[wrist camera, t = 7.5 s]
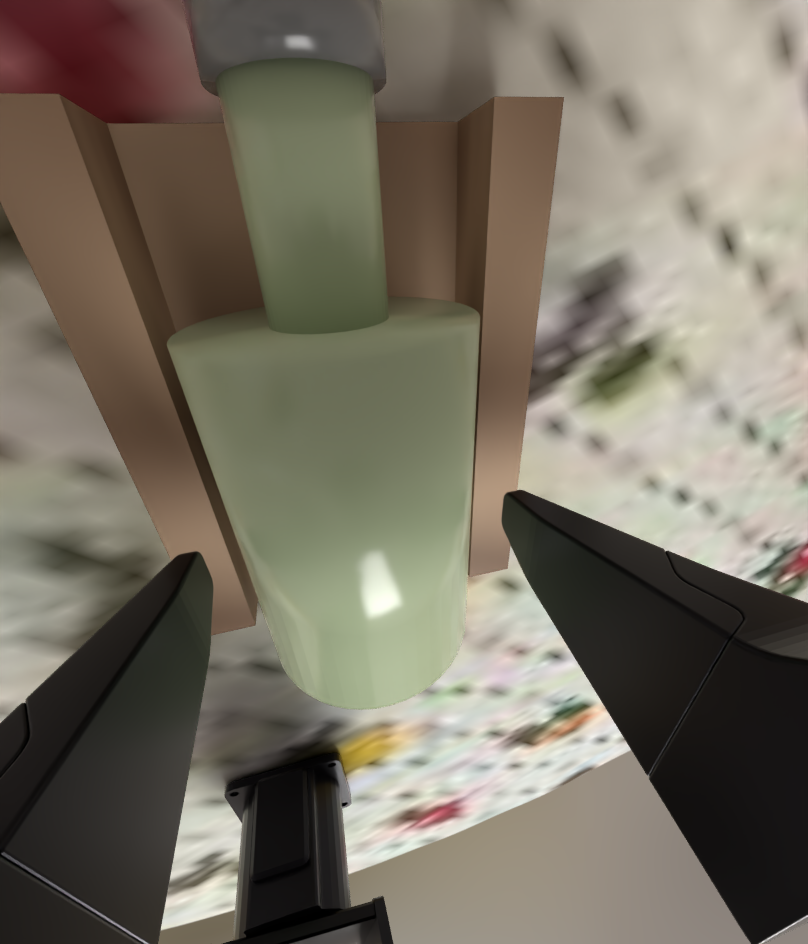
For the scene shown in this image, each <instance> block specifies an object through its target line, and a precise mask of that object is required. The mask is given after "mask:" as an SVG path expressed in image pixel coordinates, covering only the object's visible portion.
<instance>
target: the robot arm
mask: <svg viewBox="0 0 808 944" xmlns="http://www.w3.org/2000/svg"><path fill="white" fill-rule="evenodd" d="M501 522H502V527H503V530H504V532H505V534H506V536H507V538H508V540H509V543H510V545H511V547H512V549H513V551H514V553H515V555H516V558H517V560H518V562H519V564H520V566H521V568H522V570H523V572H524V574H525V576H526V578H527V580H528V582H529V584H530V586H531V587H532V589H533V591H534V592H535V594H536V596H537V597H538V599H539V600H540V602H541V604H542V605H543V607H544V609H545V610H546V612H547V613H548V615H549V617H550V618H551V620H552V622H553V623H554V625H555V626H556V628H557V630H558V631H559V633H560V635H561V636H562V638H563V639H564V641H565V643H566V644H567V646H568V648H569V649H570V651H571V652H572V654H573V656H574V657H575V659H576V661H577V662H578V664H579V665H580V667H581V669H582V670H583V672H584V674H585V675H586V677H587V678H588V680H589V682H590V683H591V685H592V687H593V688H594V690H595V692H596V693H597V695H598V696H599V698H600V700H601V701H602V703H603V705H604V706H605V708H606V709H607V711H608V713H609V714H610V716H611V718H612V719H613V721H614V722H615V724H616V726H617V727H618V729H619V731H620V732H621V734H622V735H623V737H624V739H625V740H626V742H627V744H628V745H629V747H630V748H631V750H632V752H633V753H634V755H635V757H636V758H637V760H638V761H639V763H640V765H641V766H642V768H643V769H644V771H645V773H646V774H647V775H648V776H649V780H650V782H651V783H652V785H653V786H654V788H655V790H656V791H657V793H658V794H659V796H660V798H661V799H662V801H663V803H664V804H665V806H666V808H667V809H668V811H669V812H670V814H671V816H672V817H673V819H674V821H675V822H676V824H677V825H678V827H679V829H680V830H681V832H682V834H683V835H684V837H685V838H686V840H687V842H688V843H689V845H690V847H691V848H692V850H693V851H694V853H695V855H696V856H697V858H698V859H699V861H700V863H701V864H702V866H703V868H704V869H705V871H706V873H707V874H708V876H709V877H710V879H711V881H712V882H713V884H714V885H715V887H716V889H717V890H718V892H719V894H720V895H721V897H722V899H723V900H724V902H725V903H726V905H727V907H728V908H729V910H730V911H731V913H732V915H733V916H734V918H735V920H736V921H737V923H738V925H739V926H740V928H741V929H742V931H743V932H744V934H745V936H746V937H747V938H748V940H749V941H750V942H751V944H764V943H766V942H768V941H770V940H772V939H775V938H776V937H778V936H781V935H783V934H785V933H787V932H789V931H791V930H794V929H796V928H798V927H800V926H802V925H804V924H806V923H808V603H806V602H804V601H801V600H798V599H795V598H792V597H789V596H787V595H784V594H781V593H778V592H775V591H772V590H770V589H767V588H764V587H761V586H758V585H756V584H753V583H750V582H747V581H744V580H742V579H739V578H736V577H733V576H731V575H728V574H725V573H722V572H720V571H717V570H714V569H712V568H709V567H707V566H704V565H702V564H699V563H697V562H694V561H692V560H689V559H687V558H684V557H682V556H680V555H677V554H675V553H672V552H670V551H665V550H664V549H663V548H660V547H658V546H655V545H653V544H651V543H648V542H646V541H643V540H641V539H639V538H636V537H634V536H631V535H629V534H627V533H624V532H622V531H619V530H617V529H615V528H612V527H610V526H607V525H605V524H603V523H600V522H598V521H595V520H593V519H591V518H588V517H586V516H583V515H581V514H579V513H576V512H574V511H571V510H569V509H567V508H564V507H562V506H559V505H557V504H555V503H552V502H550V501H547V500H545V499H543V498H540V497H538V496H535V495H533V494H531V493H528V492H526V491H523V490H516V491H511V492H507V493H506V494H505V495H504V498H503V507H502V518H501ZM212 608H213V580H212V577H211V575H210V572H209V570H208V568H207V565H206V563H205V560H204V558H203V556H202V554H201V553H200V552H198V551H194V552H188V553H183V554H179V555H177V556H176V557H175V558H174V559H173V560H172V561H170V562H169V563H168V564H167V565H166V566H165V567H164V568H163V569H162V570H161V571H160V572H159V573H158V574H157V575H156V576H155V577H154V578H153V579H152V580H150V581H149V582H148V583H147V584H146V585H145V586H144V587H143V588H142V589H141V590H140V591H139V592H138V593H137V594H136V595H135V596H134V597H133V598H132V599H131V600H129V601H128V602H127V603H126V604H125V605H124V606H123V607H122V608H121V609H120V610H119V611H118V612H117V613H116V614H115V615H114V616H113V617H112V618H111V619H109V620H108V621H107V622H106V623H105V624H104V625H103V626H102V627H101V628H100V629H99V630H98V631H97V632H96V633H95V634H94V635H93V636H92V637H91V638H90V639H88V640H87V641H86V642H85V643H84V644H83V645H82V646H81V647H80V648H79V649H78V650H77V651H76V652H75V653H74V654H73V655H72V656H71V657H70V658H68V659H67V660H66V661H65V662H64V663H63V664H62V665H61V666H60V667H59V668H58V669H57V670H56V671H55V672H54V673H53V674H52V675H51V676H50V677H48V678H47V679H46V680H45V681H44V682H43V683H42V684H41V685H40V686H39V687H38V688H37V689H36V690H35V691H34V692H33V693H32V694H31V695H30V696H28V697H27V699H26V703H21V704H20V705H19V706H18V707H17V708H16V709H15V710H14V711H13V712H11V713H10V714H9V715H8V716H7V717H6V718H5V719H4V720H3V721H2V722H1V723H0V944H158V941H159V935H160V930H161V924H162V919H163V913H164V908H165V902H166V897H167V891H168V885H169V880H170V874H171V869H172V863H173V858H174V852H175V847H176V841H177V835H178V830H179V824H180V819H181V813H182V808H183V802H184V797H185V791H186V785H187V780H188V774H189V769H190V763H191V758H192V752H193V747H194V741H195V735H196V730H197V724H198V719H199V713H200V708H201V702H202V697H203V691H204V685H205V680H206V674H207V669H208V662H209V656H210V644H211V626H212ZM225 798H226V799H227V801H228V803H229V804H230V806H231V807H232V809H233V810H234V812H235V813H236V815H237V816H238V818H239V819H240V821H241V822H242V833H241V846H240V858H239V870H238V882H237V895H236V907H235V919H234V931H233V941H230V942H226V943H223V944H393V940H392V935H391V931H390V926H389V921H388V916H387V912H386V906H385V901H384V897H383V896H381V897H377V898H373V899H372V902H368V903H365V904H361V905H358V906H354V907H351V901H350V890H349V879H348V868H347V857H346V846H345V835H344V824H343V813H342V808H345V807H347V806H349V805H350V804H351V794H350V790H349V787H348V783H347V779H346V776H345V772H344V768H343V765H342V761H341V757H340V755H339V754H338V753H331V754H327V755H324V756H320V757H317V758H313V759H310V760H307V761H303V762H300V763H296V764H293V765H289V766H286V767H283V768H279V769H276V770H272V771H269V772H265V773H262V774H259V775H255V776H252V777H248V778H245V779H241V780H238V781H235V782H231V783H229V784H228V785H227V786H226V788H225Z"/></svg>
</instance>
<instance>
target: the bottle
mask: <svg viewBox="0 0 808 944" xmlns="http://www.w3.org/2000/svg"><path fill="white" fill-rule="evenodd" d="M182 3H183V8H184V12H185V16H186V20H187V25H188V29H189V33H190V38H191V42H192V46H193V50H194V55H195V59H196V63H197V67H198V72H199V76H200V80H201V83H202V86H203V87H204V88H205V89H206V90H207V91H208V92H210V93H212V94H213V95H215V96H218V97H219V101H220V106H221V110H222V115H223V119H224V124H225V128H226V133H227V137H228V142H229V147H230V151H231V156H232V160H233V165H234V169H235V174H236V178H237V183H238V187H239V192H240V197H241V201H242V206H243V210H244V215H245V219H246V224H247V228H248V233H249V237H250V242H251V247H252V251H253V256H254V260H255V265H256V269H257V274H258V278H259V283H260V287H261V292H262V297H263V301H264V306H265V307H259V308H254V309H248V310H243V311H239V312H234V313H230V314H226V315H222V316H218V317H214V318H211V319H207V320H204V321H201V322H198V323H196V324H193V325H191V326H188V327H186V328H184V329H182V330H180V331H178V332H176V333H175V334H174V335H172V336H171V337H170V338H169V340H168V341H167V347H168V350H169V353H170V356H171V359H172V361H173V364H174V367H175V370H176V372H177V375H178V378H179V381H180V384H181V386H182V389H183V392H184V395H185V398H186V400H187V403H188V406H189V409H190V411H191V414H192V417H193V420H194V423H195V425H196V428H197V431H198V434H199V437H200V439H201V442H202V445H203V448H204V450H205V453H206V456H207V459H208V462H209V464H210V467H211V470H212V473H213V476H214V478H215V481H216V484H217V487H218V489H219V492H220V495H221V498H222V501H223V503H224V506H225V509H226V512H227V515H228V517H229V520H230V523H231V526H232V528H233V531H234V534H235V537H236V540H237V542H238V545H239V548H240V551H241V554H242V556H243V559H244V562H245V565H246V567H247V570H248V573H249V576H250V579H251V581H252V584H253V587H254V590H255V593H256V595H257V598H258V601H259V604H260V606H261V609H262V612H263V615H264V618H265V620H266V623H267V626H268V629H269V632H270V634H271V637H272V640H273V643H274V645H275V648H276V651H277V654H278V657H279V659H280V662H281V664H282V666H283V669H284V670H285V672H286V673H287V675H288V676H289V678H290V679H291V680H292V681H293V682H294V683H295V685H296V686H297V687H298V688H300V689H301V690H302V691H303V692H305V693H306V694H307V695H309V696H311V697H313V698H314V699H316V700H318V701H320V702H323V703H326V704H329V705H331V706H335V707H340V708H345V709H359V710H363V709H376V708H381V707H386V706H391V705H394V704H397V703H399V702H402V701H405V700H407V699H409V698H411V697H413V696H415V695H417V694H419V693H421V692H422V691H424V690H425V689H426V688H428V687H429V686H431V685H432V684H433V683H434V682H435V681H436V680H438V679H439V678H440V677H441V676H442V675H443V674H444V672H445V671H446V670H447V669H448V668H449V666H450V665H451V663H452V662H453V660H454V659H455V657H456V655H457V653H458V651H459V649H460V646H461V644H462V640H463V636H464V632H465V623H466V602H467V582H468V561H469V540H470V519H471V499H472V478H473V457H474V436H475V416H476V395H477V374H478V353H479V333H480V315H479V313H478V312H477V311H476V310H475V309H473V308H471V307H469V306H466V305H463V304H460V303H456V302H452V301H446V300H439V299H431V298H420V297H396V296H388V295H387V280H386V265H385V250H384V235H383V220H382V205H381V190H380V175H379V160H378V145H377V131H376V116H375V101H374V94H376V93H378V92H379V91H380V90H381V89H382V88H383V87H384V86H385V84H386V71H385V52H384V34H383V15H382V2H381V0H182Z"/></svg>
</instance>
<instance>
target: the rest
mask: <svg viewBox="0 0 808 944" xmlns="http://www.w3.org/2000/svg"><path fill="white" fill-rule="evenodd" d="M563 101H564V97H493V98H492V99H491V100H489V101H488V102H486V103H485V104H483V105H482V106H480V107H479V108H477V109H476V110H475V111H473V112H472V113H470V114H469V115H467V116H466V117H464V118H463V119H461V120H460V121H458V122H376V131H377V145H378V160H379V175H380V190H381V205H382V220H383V235H384V250H385V265H386V280H387V295H388V296H396V297H420V298H431V299H439V300H446V301H452V302H456V303H460V304H463V305H466V306H469V307H471V308H473V309H475V310H476V311H477V312H478V313H479V315H480V333H479V353H478V374H477V395H476V416H475V436H474V457H473V478H472V499H471V519H470V540H469V561H468V575H469V577H472V576H477V575H481V574H485V573H490V572H494V571H499V570H503V569H508V561H509V552H510V543H509V540H508V538H507V536H506V534H505V532H504V530H503V527H502V522H501V518H502V507H503V498H504V495H505V494H506V493H507V492H511V491H516V490H517V485H518V477H519V469H520V460H521V452H522V444H523V435H524V427H525V419H526V410H527V402H528V393H529V385H530V377H531V368H532V360H533V352H534V343H535V335H536V327H537V318H538V310H539V302H540V293H541V285H542V276H543V268H544V260H545V251H546V243H547V235H548V226H549V218H550V210H551V201H552V193H553V185H554V176H555V168H556V159H557V151H558V143H559V134H560V126H561V118H562V109H563ZM0 203H1V205H2V207H3V209H4V211H5V213H6V215H7V217H8V219H9V221H10V224H11V226H12V228H13V230H14V232H15V234H16V236H17V238H18V240H19V242H20V244H21V247H22V249H23V251H24V253H25V255H26V257H27V259H28V261H29V263H30V265H31V268H32V270H33V272H34V274H35V276H36V278H37V280H38V282H39V284H40V286H41V289H42V291H43V293H44V295H45V297H46V299H47V301H48V303H49V305H50V307H51V309H52V312H53V314H54V316H55V318H56V320H57V322H58V324H59V326H60V328H61V330H62V333H63V335H64V337H65V339H66V341H67V343H68V345H69V347H70V349H71V351H72V354H73V356H74V358H75V360H76V362H77V364H78V366H79V368H80V370H81V372H82V374H83V377H84V379H85V381H86V383H87V385H88V387H89V389H90V391H91V393H92V395H93V398H94V400H95V402H96V404H97V406H98V408H99V410H100V412H101V414H102V416H103V419H104V421H105V423H106V425H107V427H108V429H109V431H110V433H111V435H112V437H113V440H114V442H115V444H116V446H117V448H118V450H119V452H120V454H121V456H122V458H123V460H124V463H125V465H126V467H127V469H128V471H129V473H130V475H131V477H132V479H133V481H134V484H135V486H136V488H137V490H138V492H139V494H140V496H141V498H142V500H143V502H144V505H145V507H146V509H147V511H148V513H149V515H150V517H151V519H152V521H153V523H154V525H155V528H156V530H157V532H158V534H159V536H160V538H161V540H162V542H163V544H164V546H165V549H166V551H167V553H168V555H169V557H170V559H171V561H172V560H173V559H174V558H175V557H176V556H177V555H179V554H183V553H188V552H194V551H198V552H200V553H201V554H202V556H203V558H204V560H205V563H206V565H207V568H208V570H209V572H210V575H211V577H212V580H213V608H212V626H211V635H215V634H219V633H224V632H228V631H233V630H237V629H242V628H246V627H251V626H255V625H256V614H257V603H258V598H257V595H256V593H255V590H254V587H253V584H252V581H251V579H250V576H249V573H248V570H247V567H246V565H245V562H244V559H243V556H242V554H241V551H240V548H239V545H238V542H237V540H236V537H235V534H234V531H233V528H232V526H231V523H230V520H229V517H228V515H227V512H226V509H225V506H224V503H223V501H222V498H221V495H220V492H219V489H218V487H217V484H216V481H215V478H214V476H213V473H212V470H211V467H210V464H209V462H208V459H207V456H206V453H205V450H204V448H203V445H202V442H201V439H200V437H199V434H198V431H197V428H196V425H195V423H194V420H193V417H192V414H191V411H190V409H189V406H188V403H187V400H186V398H185V395H184V392H183V389H182V386H181V384H180V381H179V378H178V375H177V372H176V370H175V367H174V364H173V361H172V359H171V356H170V353H169V350H168V347H167V341H168V340H169V338H170V337H171V336H172V335H174V334H175V333H176V332H178V331H180V330H182V329H184V328H186V327H188V326H191V325H193V324H196V323H198V322H201V321H204V320H207V319H211V318H214V317H218V316H222V315H226V314H230V313H234V312H239V311H243V310H248V309H254V308H259V307H265V306H264V301H263V297H262V292H261V287H260V283H259V278H258V274H257V269H256V265H255V260H254V256H253V251H252V247H251V242H250V237H249V233H248V228H247V224H246V219H245V215H244V210H243V206H242V201H241V197H240V192H239V187H238V183H237V178H236V174H235V169H234V165H233V160H232V156H231V151H230V147H229V142H228V137H227V133H226V128H225V124H224V123H140V124H107V123H105V122H103V121H102V120H100V119H99V118H97V117H95V116H94V115H92V114H91V113H89V112H87V111H86V110H84V109H82V108H81V107H79V106H78V105H76V104H74V103H73V102H71V101H70V100H68V99H66V98H65V97H63V96H61V95H60V94H4V93H0Z"/></svg>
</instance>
